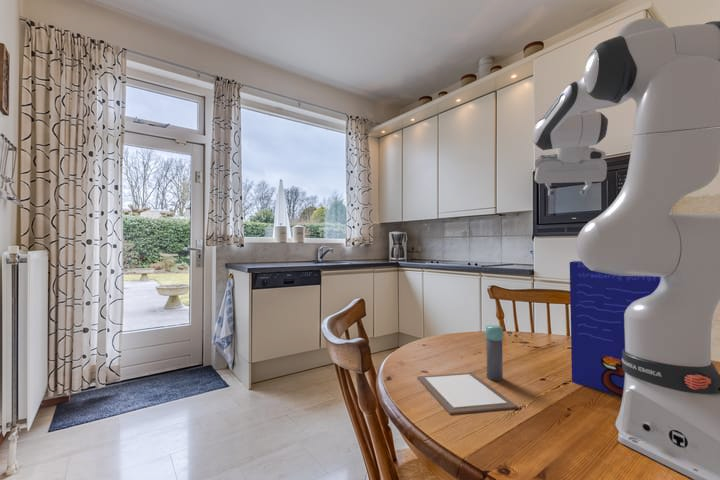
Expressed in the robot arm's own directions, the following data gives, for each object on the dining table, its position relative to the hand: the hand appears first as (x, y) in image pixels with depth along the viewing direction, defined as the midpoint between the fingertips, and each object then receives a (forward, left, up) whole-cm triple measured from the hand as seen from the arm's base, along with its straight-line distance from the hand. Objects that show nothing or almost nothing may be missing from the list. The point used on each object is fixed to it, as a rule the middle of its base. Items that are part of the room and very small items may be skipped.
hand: (566, 195), depth 112 cm
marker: (-20, +40, -51) cm, 68 cm away
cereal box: (-34, +15, -52) cm, 63 cm away
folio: (-26, +52, -51) cm, 77 cm away
